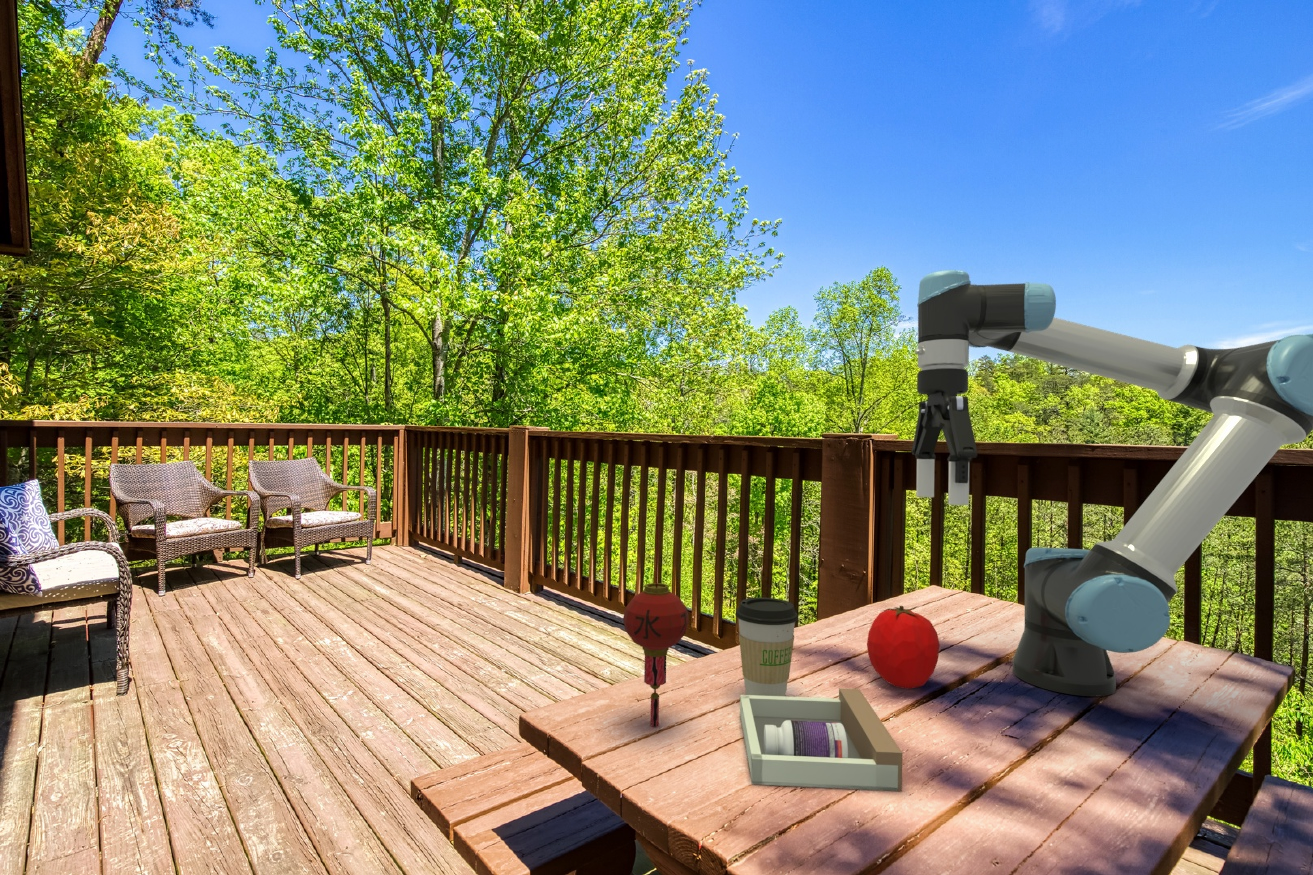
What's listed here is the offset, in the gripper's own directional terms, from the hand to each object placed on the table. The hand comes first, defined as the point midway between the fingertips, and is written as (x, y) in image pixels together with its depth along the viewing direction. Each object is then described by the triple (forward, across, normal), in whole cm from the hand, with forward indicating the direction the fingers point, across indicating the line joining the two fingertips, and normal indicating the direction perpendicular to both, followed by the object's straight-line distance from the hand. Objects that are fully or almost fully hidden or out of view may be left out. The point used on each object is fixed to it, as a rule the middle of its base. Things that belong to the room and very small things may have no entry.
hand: (940, 500), depth 101 cm
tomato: (+32, -5, -4) cm, 33 cm away
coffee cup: (+32, +3, -28) cm, 43 cm away
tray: (+32, +19, -24) cm, 44 cm away
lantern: (+32, +14, -45) cm, 57 cm away
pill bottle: (+29, +25, -21) cm, 43 cm away
